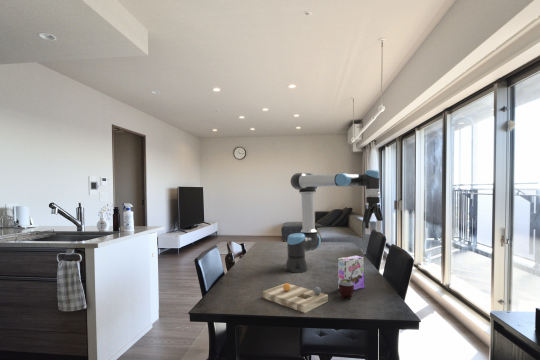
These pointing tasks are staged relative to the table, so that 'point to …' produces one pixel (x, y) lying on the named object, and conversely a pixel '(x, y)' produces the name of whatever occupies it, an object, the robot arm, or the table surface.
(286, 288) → the orange ball
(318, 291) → the grey ball
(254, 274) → the table surface
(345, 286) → the mate gourd
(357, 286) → the candy box
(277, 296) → the deck
